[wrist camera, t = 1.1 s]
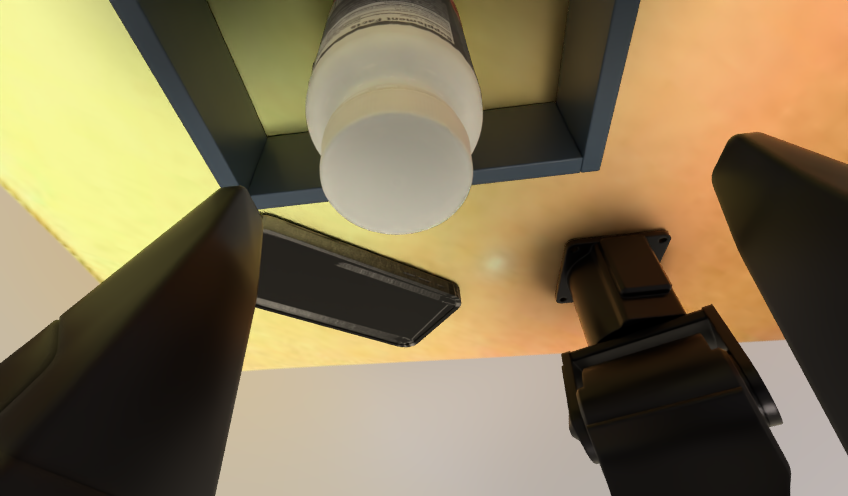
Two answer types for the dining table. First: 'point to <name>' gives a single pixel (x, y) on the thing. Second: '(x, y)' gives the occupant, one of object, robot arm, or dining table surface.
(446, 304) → the phone
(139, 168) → the dining table surface
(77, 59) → the dining table surface
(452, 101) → the pill bottle
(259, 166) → the bin
